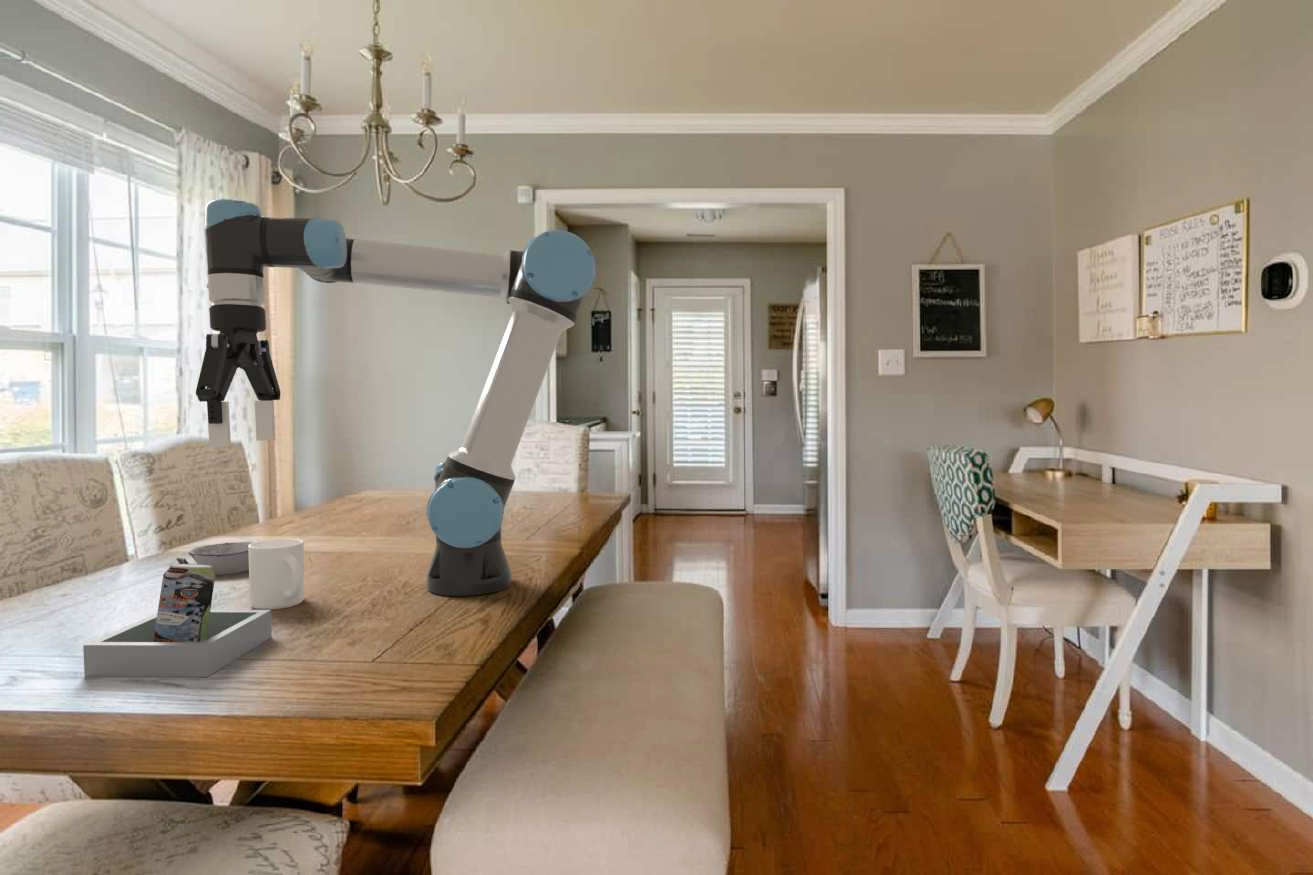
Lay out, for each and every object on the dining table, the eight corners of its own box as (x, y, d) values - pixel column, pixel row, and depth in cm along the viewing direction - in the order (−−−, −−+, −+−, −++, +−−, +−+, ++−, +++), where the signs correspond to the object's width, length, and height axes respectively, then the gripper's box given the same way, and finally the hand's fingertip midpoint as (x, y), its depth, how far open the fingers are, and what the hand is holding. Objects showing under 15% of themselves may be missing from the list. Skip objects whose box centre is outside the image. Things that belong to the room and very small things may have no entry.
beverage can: (141, 657, 98) (140, 566, 98) (194, 642, 105) (193, 557, 105) (174, 662, 96) (172, 569, 96) (226, 647, 103) (225, 560, 103)
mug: (324, 606, 124) (323, 545, 123) (273, 617, 118) (271, 553, 117) (291, 594, 132) (290, 536, 131) (241, 604, 125) (239, 543, 125)
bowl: (253, 576, 145) (252, 551, 145) (179, 579, 142) (178, 554, 142) (271, 561, 157) (271, 539, 157) (204, 564, 155) (203, 541, 154)
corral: (271, 636, 108) (270, 609, 108) (207, 676, 93) (206, 645, 93) (166, 636, 108) (165, 609, 108) (84, 676, 93) (83, 645, 93)
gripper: (253, 314, 126) (260, 438, 128) (161, 295, 102) (169, 449, 103) (298, 313, 127) (304, 437, 128) (217, 294, 102) (225, 448, 103)
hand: (244, 443), depth 115 cm, fingers open, 13 cm apart
